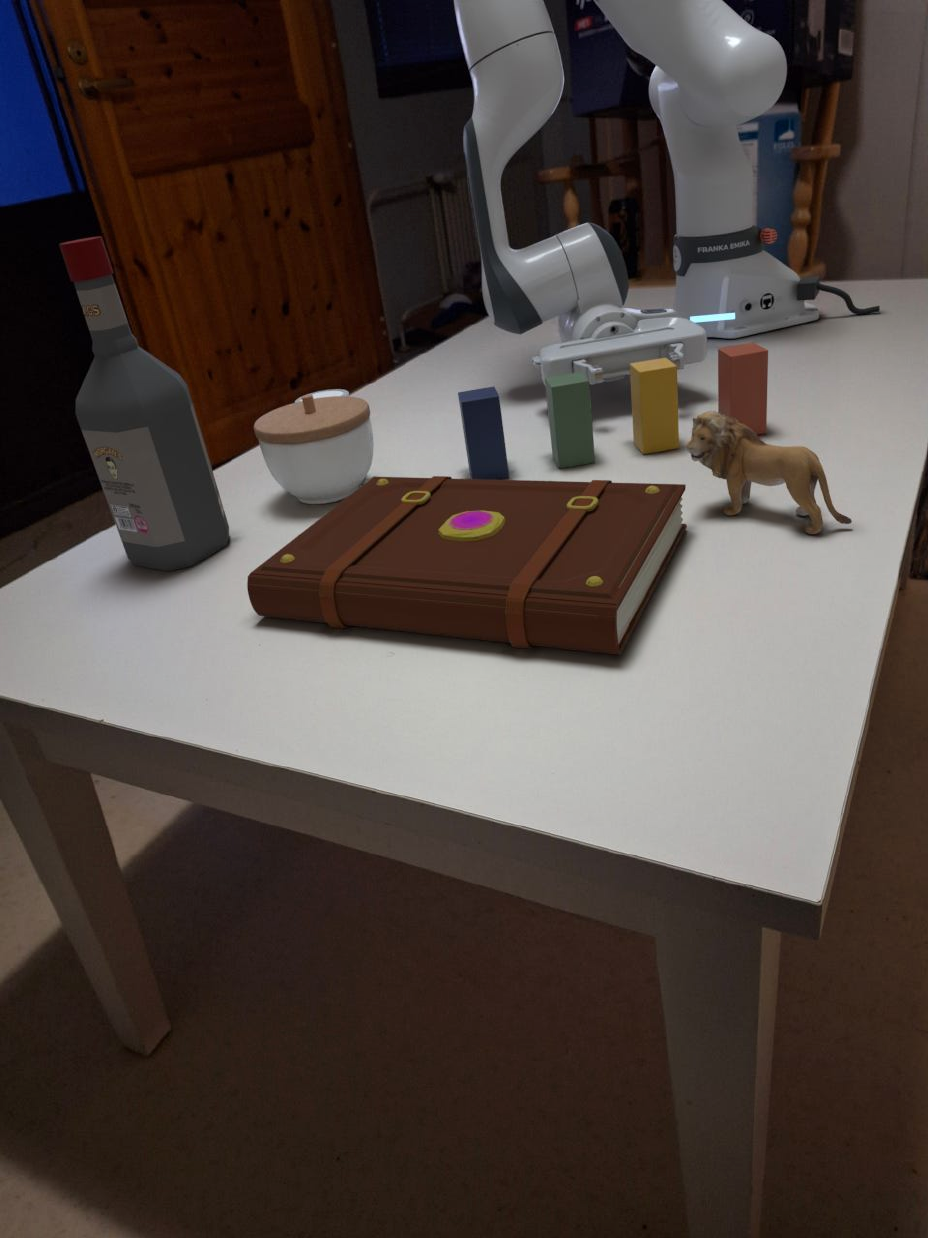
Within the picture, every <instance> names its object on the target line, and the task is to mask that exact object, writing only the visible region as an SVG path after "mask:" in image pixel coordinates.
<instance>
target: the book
mask: <svg viewBox="0 0 928 1238" xmlns="http://www.w3.org/2000/svg"><path fill="white" fill-rule="evenodd" d="M686 487H687V485H686V483H685V484H684V483H649V482H648V483H643V482H613V481H612V480H609V479H592V480H591V481H568V480H567V481H565V480H564V481H563V480H561V481H560V480H527V479H525V480H524V479H522V480H521V479H516V480H515V479H495V480H489V479H472V478H452V476H444V475H443V476H442V475H433V476H432V477H409V476H407V477H406V476H373V477H371V478H370V479H369V480H367V481H366V482H365V483H364V484H362V485H360V488H359V489H357V490H356V491H355V492H354V493H352V494H351V495H350V496H348V497H347V498H345V499H342V500H341V501H340V502H339V503H338V504H337V505H336V506H334V507H332V508H331V509H330V510H329V511H328V512H327V513H325V514H324V515H323V516H321V517H320V518H319V519H318V520H316V521H315V522H314V523H313V524H311V525H310V526H309V527H307V528H306V529H305V530H304V531H302V532H301V533H300V534H298V535H297V536H295V538H293V539H292V540H290V541H289V542H288V543H287V544H286V545H284V546H283V547H282V548H280V549H278V551H276V552H275V553H274V554H272V555H271V556H270V557H269V558H268V559H266V560H265V561H264V562H262V563H261V564H259V566H257V567H256V568H255V569H254V570H252V571H251V572H250V573H249V574H248V576H247V583H246V585H247V586H246V587H247V588H246V589H247V595H248V598H249V602H250V604H251V607H252V610H253V611H254V612H255V613H256V614H257V615H258V616H260V617H266V618H267V617H268V618H277V619H287V620H294V621H295V620H296V621H305V622H314V623H323V624H327V625H328V626H329V627H331V628H337V629H346V628H348V627H349V626H351V627H359V628H360V627H361V628H369V629H378V630H387V631H397V632H407V633H417V634H426V635H434V636H443V637H451V638H463V639H471V640H479V641H480V640H481V641H489V642H499V643H506V644H507V643H508V644H510V645H511V646H512V647H513V648H518V649H531V648H532V647H533V646H534V647H535V646H536V647H545V648H552V649H553V648H555V649H564V650H571V651H583V652H590V653H601V654H609V655H617V656H619V655H621V654H622V653H623V652H624V649H625V647H626V645H627V643H628V641H629V639H630V638H631V636H632V634H633V631H634V630H635V628H636V626H637V624H638V622H639V620H640V619H641V616H642V614H643V612H644V610H645V609H646V606H647V605H648V602H649V601H650V599H651V597H652V595H653V593H654V591H655V589H656V587H657V586H658V583H659V581H660V580H661V577H662V576H663V574H664V572H665V570H666V568H667V566H668V564H669V562H670V560H671V558H672V556H673V554H674V552H675V551H676V549H677V547H678V545H679V543H680V541H681V539H682V537H683V535H684V533H685V531H686V529H687V528H688V527H687V523H682V522H683V520H684V519H683V517H682V515H683V513H684V512H683V511H682V509H683V504H681V502H682V500H683V497H682V496H683V495H684V494H685V491H686Z"/></svg>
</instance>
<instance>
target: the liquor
mask: <svg viewBox="0 0 928 1238" xmlns="http://www.w3.org/2000/svg"><path fill="white" fill-rule="evenodd" d="M58 246H59V249H60V252H61V255H62V258H63V261H64V264H65V267H66V270H67V273H68V276H69V280H70V282H73V284H74V287H75V291H76V294H77V297H78V299H79V300H78V301H79V303H80V307H81V309H82V313H83V315H84V316H83V317H84V318H85V321H86V325H87V329H88V332H89V335H90V338H91V341H92V346H91V350H92V353H93V355H94V358H93V360H92V362H91V364H90V367H89V369H88V371H87V374H86V376H85V378H84V380H83V382H82V384H81V387H80V389H79V391H78V394H77V396H76V398H75V416H76V419H77V422H78V425H79V427H80V430H81V433H82V435H83V438H84V440H85V443H86V447H87V450H88V453H89V455H90V458H91V460H92V463H93V466H94V468H95V472H96V474H97V477H98V480H99V482H100V485H101V488H102V491H103V494H104V496H105V499H106V502H107V505H108V507H109V510H110V513H111V516H112V519H113V521H114V524H115V526H116V530H117V532H118V535H119V538H120V540H121V543H122V547H123V549H124V551H125V554H126V558H127V559H128V560H129V561H130V562H131V563H133V565H135V566H138V567H142V568H148V569H152V570H159V571H163V572H171V571H174V570H179V569H184V568H188V567H192V566H193V567H194V566H195V565H196V564H198V563H200V562H201V561H203V560H205V559H207V558H208V557H210V556H211V555H213V554H215V553H216V552H218V551H220V550H221V549H223V548H225V547H227V545H228V542H229V538H230V525H229V521H228V519H227V518H228V517H227V515H226V511H225V508H224V505H223V501H222V498H221V495H220V491H219V487H218V485H217V482H216V477H215V475H214V472H213V471H214V470H213V468H212V464H211V462H210V461H211V460H210V458H209V454H208V450H207V448H206V443H205V441H204V437H203V433H202V431H201V426H200V424H199V421H198V417H197V413H196V410H195V407H194V403H193V399H192V397H191V393H190V390H189V386H188V384H187V383H186V382H185V379H183V378H182V376H181V374H180V373H179V372H177V371H176V370H174V369H173V368H171V367H170V366H169V365H166V364H165V363H164V362H163V361H161V360H159V359H158V358H157V357H155V356H153V354H151V353H149V352H148V351H146V350H144V348H142V347H140V346H139V342H138V339H137V337H136V336H135V335H134V334H133V333H132V329H131V327H130V324H129V322H128V319H127V316H126V313H125V309H124V306H123V303H122V301H121V298H120V294H119V291H118V287H117V285H116V282H115V279H114V276H113V274H114V270H113V267H112V263H111V261H110V257H109V255H108V251H107V249H106V245H105V242H104V239H103V236H102V235H101V236H92V237H84V238H79V239H75V240H70V241H65V242H61V243H59V244H58Z"/></svg>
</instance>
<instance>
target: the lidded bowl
mask: <svg viewBox="0 0 928 1238" xmlns="http://www.w3.org/2000/svg"><path fill="white" fill-rule="evenodd" d="M301 397H302V401H300V402H296V403H295V402H293V403H290V404H289V403H288V404H285V405H283V406H280V407H278V408H275V409H273V410H271V411H269V412H267V413H265V414H263V415H262V416H260V417H259V418H258V419H256V420H255V422H254V425H253V430H254V434H255V437H256V439H257V440H258V444H259V447H260V451H261V454H262V457H263V459H264V463H265V464H266V467H267V468H268V470H269V472H270V475H272V477H273V479H274V480H275V481H276V483H277V484H278V485H279V486H280V487H281V488H282V489H283V490H284V491H286V492H288V493H289V494H290V495H292V496H294V497H296V498H297V500H298V501H299V502H300V503H303V504H306V505H324V504H330V503H335V502H339V501H343V500H345V499H346V498H347V497H348V496H350V495H351V494H352V493H354V492H355V491H356V490H357V489H359V488H360V487H361V484H362V482H363V481H364V480H365V478H366V477H367V475H368V474H369V472H370V469H371V467H372V463H373V458H374V447H375V446H374V445H375V444H374V433H373V426H372V421H371V408H370V405H369V402H368V401H366V400H365V399H363V398H362V397H356V396H350V395H349V396H332V397H322V398H315V399H313V395H307V394H305V395H302V396H301Z"/></svg>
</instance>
